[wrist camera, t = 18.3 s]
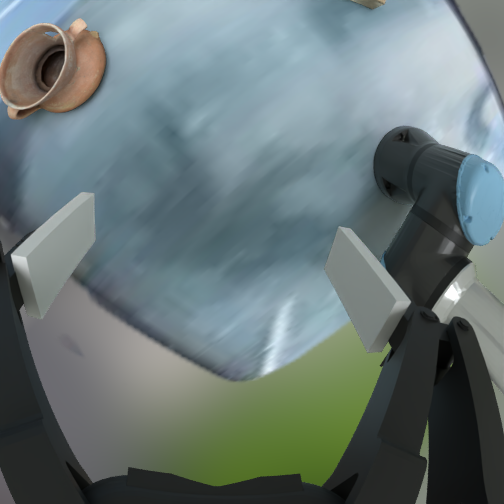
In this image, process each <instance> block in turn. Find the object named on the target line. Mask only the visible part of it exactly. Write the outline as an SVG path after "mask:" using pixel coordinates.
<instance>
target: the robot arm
mask: <svg viewBox="0 0 504 504" xmlns="http://www.w3.org/2000/svg"><path fill="white" fill-rule="evenodd" d="M374 173H375V178H376V181H377V184H378V186H379V187H380V189H381V190H382V192H383V193H384V194H385V195H386V196H388V197H389V198H391V199H392V200H394V201H396V202H398V203H401V204H405V205H413V207H412V209H411V211H410V212H409V214H408V216H407V217H406V219H405V221H404V222H403V224H402V226H401V228H400V229H399V231H398V233H397V234H396V236H395V238H394V239H393V241H392V242H391V244H390V246H389V247H388V249H387V250H386V251H385V252H384V253H383V256H382V259H381V261H380V262H379V261H378V260H377V258H376V257H375V256H374V255H373V254H372V253H371V251H370V250H369V249H368V248H367V247H366V246H365V244H364V243H363V242H362V241H361V240H360V239H359V237H358V236H357V235H356V234H355V233H354V232H353V231H352V230H351V228H345V227H340V226H339V227H338V230H337V233H336V236H335V239H334V242H333V245H332V248H331V251H330V253H329V256H328V259H327V262H326V265H325V268H324V270H325V272H326V274H327V275H328V277H329V279H330V281H331V283H332V285H333V287H334V288H335V290H336V292H337V294H338V296H339V298H340V300H341V302H342V303H343V305H344V307H345V309H346V311H347V313H348V315H349V317H350V319H351V321H352V323H353V325H354V327H355V328H356V331H357V333H358V335H359V337H360V339H361V341H362V343H363V345H364V346H365V349H366V351H367V352H368V353H370V352H382V351H383V349H384V347H385V346H386V344H387V343H388V342H389V344H390V345H391V347H392V348H391V350H390V351H389V353H388V354H387V356H386V357H385V359H384V360H383V362H382V363H381V365H380V366H381V367H382V366H383V368H382V371H381V373H380V376H379V378H378V381H377V384H376V386H375V388H374V391H373V393H372V396H371V398H370V400H369V403H368V405H367V407H366V410H365V412H364V414H363V416H362V418H361V420H360V422H359V425H358V427H357V429H356V431H355V433H354V435H353V437H352V439H351V441H350V443H349V445H348V447H347V449H346V451H345V452H344V454H343V456H342V458H341V460H340V462H339V463H338V465H337V467H336V469H335V470H334V472H333V474H332V475H331V476H330V478H329V479H328V480H327V481H326V482H325V483H324V484H323V486H322V487H320V486H317V485H314V484H310V483H305V482H302V481H301V476H300V474H292V475H282V476H281V475H280V476H267V477H257V478H254V479H250V480H246V481H242V482H238V483H233V484H229V485H224V486H211V485H207V484H203V483H200V482H196V481H193V480H189V479H186V478H183V477H179V476H177V475H173V474H169V473H162V472H155V471H148V470H142V469H136V468H130V467H129V468H128V475H122V476H115V477H110V478H106V479H102V480H100V481H97V482H95V483H92V481H91V480H90V478H89V477H88V475H87V474H86V472H85V471H84V469H83V468H82V467H81V465H80V464H79V462H78V461H77V459H76V457H75V455H74V454H73V452H72V450H71V448H70V446H69V444H68V443H67V440H66V438H65V436H64V434H63V432H62V430H61V429H60V426H59V424H58V422H57V420H56V418H55V415H54V413H53V411H52V409H51V406H50V404H49V401H48V399H47V396H46V394H45V391H44V389H43V386H42V383H41V381H40V378H39V375H38V372H37V369H36V367H35V363H34V360H33V357H32V354H31V351H30V347H29V344H28V340H27V337H26V333H25V329H24V325H23V321H22V317H21V314H20V311H19V310H20V308H21V307H22V305H23V304H24V306H25V310H26V313H27V315H28V316H31V317H35V318H39V319H42V318H43V317H44V315H45V314H46V312H47V310H48V309H49V307H50V305H51V304H52V302H53V301H54V299H55V298H56V296H57V295H58V293H59V291H60V290H61V288H62V287H63V285H64V284H65V282H66V281H67V280H68V278H69V277H70V275H71V274H72V272H73V271H74V269H75V268H76V267H77V265H78V264H79V262H80V261H81V260H82V258H83V257H84V255H85V254H86V253H87V251H88V250H89V249H90V247H91V246H92V245H93V243H94V242H95V241H96V238H95V213H94V193H86V192H81V193H80V194H79V195H78V196H76V197H75V198H74V199H72V200H71V201H70V202H69V203H68V204H66V205H65V206H64V207H63V208H61V209H60V210H59V211H58V212H57V213H55V214H54V215H53V216H52V217H51V218H50V219H48V220H47V221H46V222H45V223H44V224H43V225H42V226H40V227H39V228H38V229H37V230H34V231H32V232H30V233H29V234H27V235H26V236H24V237H23V238H22V239H21V241H19V242H18V243H17V244H16V246H14V247H13V248H12V249H11V250H10V251H9V252H8V253H7V254H6V255H5V256H4V253H3V248H2V244H1V241H0V468H1V471H2V473H3V476H4V478H5V481H6V483H7V486H8V488H9V490H10V493H11V495H12V497H13V499H14V501H15V503H16V504H415V503H416V500H417V497H418V494H419V491H420V488H421V484H422V481H423V478H424V475H425V471H426V467H427V460H426V458H425V457H422V456H420V455H419V454H420V449H421V445H422V441H423V437H424V433H425V429H426V425H427V420H428V426H429V464H428V465H429V466H428V486H427V500H426V504H504V433H503V428H502V423H501V418H500V413H499V409H498V405H497V401H496V397H495V393H494V389H493V386H492V382H491V380H492V381H493V383H494V384H495V385H496V386H497V387H498V388H499V389H500V391H501V392H502V393H503V394H504V304H503V303H502V302H501V301H500V300H499V299H498V298H497V297H496V296H495V295H494V294H493V293H491V292H490V291H489V290H488V289H487V288H486V287H485V286H484V285H483V284H482V283H480V282H479V280H478V279H477V271H476V265H475V264H474V263H473V262H472V261H471V260H469V259H468V258H467V257H468V253H470V251H471V249H472V248H473V246H474V245H479V246H483V245H486V244H488V243H489V241H490V240H492V239H494V237H495V236H496V235H497V233H498V232H499V230H500V228H501V225H502V223H503V220H504V179H503V177H502V175H501V173H500V171H499V170H498V169H497V167H495V166H494V165H493V164H492V163H490V162H488V161H486V160H483V159H482V158H481V157H479V156H477V155H474V154H469V153H466V152H463V151H460V150H457V149H454V148H451V147H448V146H445V145H441V144H439V143H438V142H437V141H436V140H435V139H434V138H432V137H431V136H430V135H429V134H428V133H426V132H425V131H423V130H421V129H418V128H415V127H410V126H402V127H398V128H395V129H393V130H392V131H390V132H389V133H388V134H387V135H386V136H385V137H384V138H383V139H382V141H381V142H380V144H379V146H378V148H377V151H376V154H375V159H374ZM452 363H453V364H452ZM451 364H452V366H451V367H450V365H451Z"/></svg>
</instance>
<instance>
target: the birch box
mask: <svg viewBox="0 0 504 504" xmlns="http://www.w3.org/2000/svg"><path fill="white" fill-rule="evenodd" d="M351 1H354V2H356V3H359V4H361V5H364V6H366V7H368V8H371V9H375V8H377V7H379V6H381V5H384V4H385V0H351Z"/></svg>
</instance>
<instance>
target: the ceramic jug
mask: <svg viewBox="0 0 504 504" xmlns="http://www.w3.org/2000/svg"><path fill="white" fill-rule="evenodd" d="M86 28H87V25H86V23H85V22H84V21H83V20H82V19H77V20H76V21H74V22H73V23H72V25H71V26H70V28H69V30H67V31H63V30H62V29H61V28H59V27H58V26H56V25H53V24H50V23H40V24H37V25H34V26H32V27H30V28H28V29H26V30H25V31H23V32H22V33H21V34H20V35H19V36H18V37H17V38H16V39H15V40H14V41H13V42H12V44H11V45H10V47H9V48H8V50H7V52H6V53H5V56H4V58H3V60H2V63H1V66H0V94H1V98H2V100H3V101H4V102H5V104H6V105H8V115H9V117H10V118H12V119H23V118H25V117H27V116H29V115H31V114H32V113H34V112H35V111H37V110H38V109H41V108H42V109H45V110H47V111H50V112H54V113H61V112H67V111H70V110H72V109H75V108H76V107H78V106H80V105H81V104H83V103H84V102H85V101H86V100H87V99H88V98H90V96H91V95H92V94H93V93H94V92H95V90H96V89H97V87H98V86H99V84H100V82H101V79H102V76H103V73H104V70H105V66H106V54H105V50H104V47H103V45H102V43H101V41H100V38H99V34H98V32H96V31H91V32H90V31H88V30H84V29H86ZM50 31H51V32H56V33H59V34H58V35H56V36H54V37H51V36H49V35H47V34H45V32H50Z"/></svg>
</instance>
